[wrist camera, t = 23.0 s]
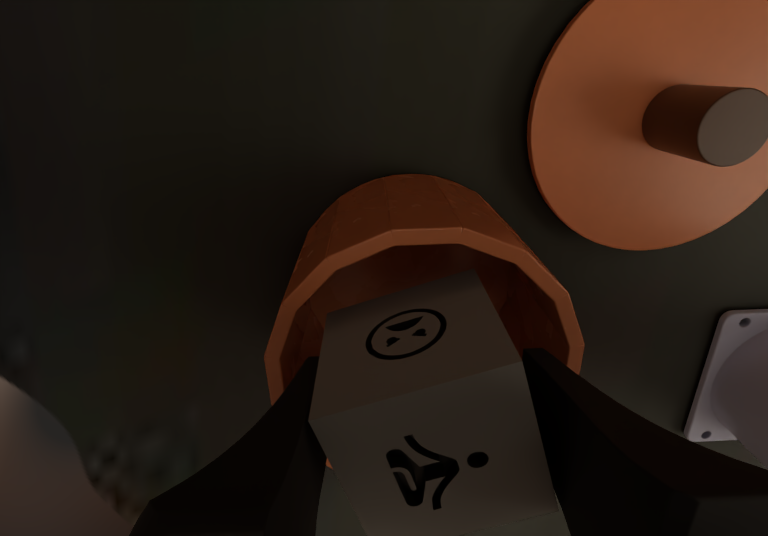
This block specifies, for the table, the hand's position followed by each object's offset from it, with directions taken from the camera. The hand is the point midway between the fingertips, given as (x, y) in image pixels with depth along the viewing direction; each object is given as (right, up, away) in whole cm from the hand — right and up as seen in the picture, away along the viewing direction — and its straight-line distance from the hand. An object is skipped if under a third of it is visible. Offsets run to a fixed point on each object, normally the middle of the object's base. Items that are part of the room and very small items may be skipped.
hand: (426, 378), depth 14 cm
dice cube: (0, +1, +1) cm, 2 cm away
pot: (0, +3, +6) cm, 7 cm away
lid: (+10, +9, +3) cm, 14 cm away
